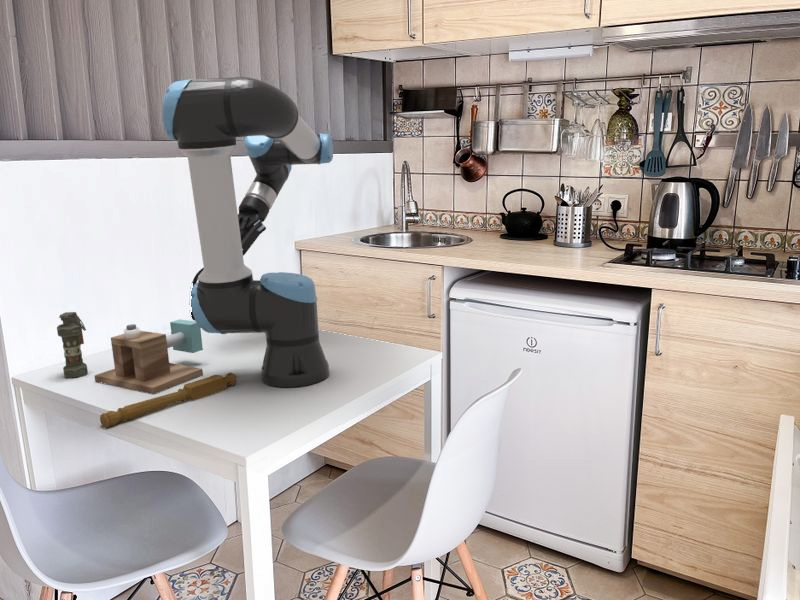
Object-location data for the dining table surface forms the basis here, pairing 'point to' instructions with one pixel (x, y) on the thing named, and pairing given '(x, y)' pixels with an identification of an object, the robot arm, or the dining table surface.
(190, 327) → the teal piece
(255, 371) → the dining table surface
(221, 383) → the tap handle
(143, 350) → the mount
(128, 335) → the dial
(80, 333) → the grenade
